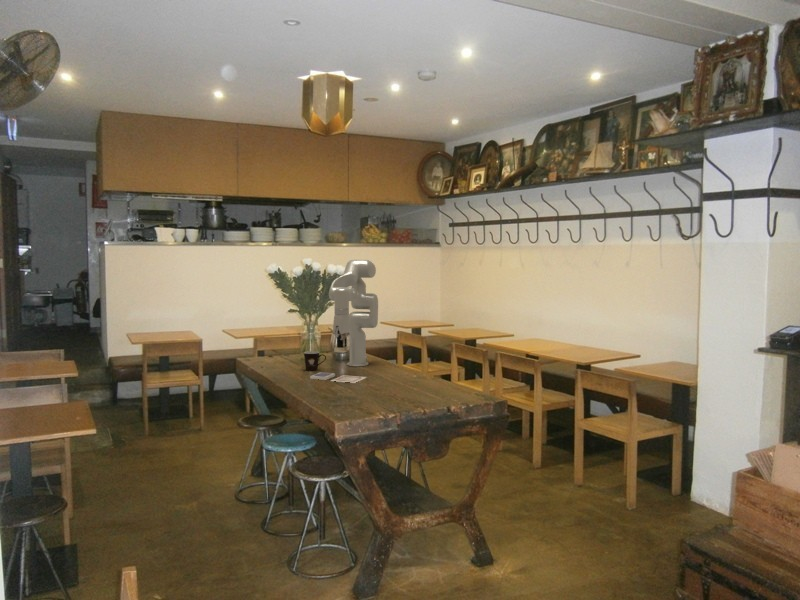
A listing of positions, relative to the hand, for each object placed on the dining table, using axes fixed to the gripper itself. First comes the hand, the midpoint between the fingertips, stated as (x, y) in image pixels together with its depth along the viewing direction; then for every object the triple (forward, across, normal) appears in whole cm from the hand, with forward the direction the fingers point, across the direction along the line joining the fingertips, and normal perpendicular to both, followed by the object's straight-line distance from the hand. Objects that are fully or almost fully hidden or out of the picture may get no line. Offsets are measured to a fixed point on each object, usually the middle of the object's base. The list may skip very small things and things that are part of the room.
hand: (341, 346), depth 325 cm
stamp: (+3, 0, 0) cm, 3 cm away
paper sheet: (+17, 0, +4) cm, 18 cm away
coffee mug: (+17, -15, -26) cm, 34 cm away
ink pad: (+17, +1, -11) cm, 21 cm away
